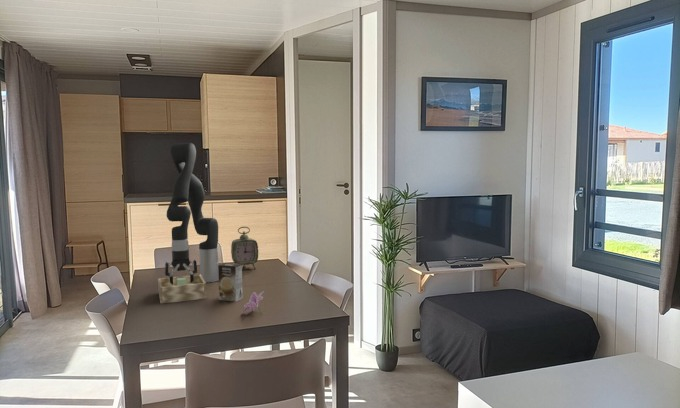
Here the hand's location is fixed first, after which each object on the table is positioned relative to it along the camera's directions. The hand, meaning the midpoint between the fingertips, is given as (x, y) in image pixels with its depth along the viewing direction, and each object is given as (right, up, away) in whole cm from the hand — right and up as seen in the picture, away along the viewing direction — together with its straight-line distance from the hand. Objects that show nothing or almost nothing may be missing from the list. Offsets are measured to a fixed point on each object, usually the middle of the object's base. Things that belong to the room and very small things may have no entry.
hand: (181, 283), depth 238 cm
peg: (0, -6, 0) cm, 6 cm away
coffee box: (+25, -6, -7) cm, 26 cm away
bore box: (0, -6, 0) cm, 6 cm away
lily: (+39, -8, -29) cm, 49 cm away
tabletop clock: (+19, -1, +58) cm, 61 cm away
